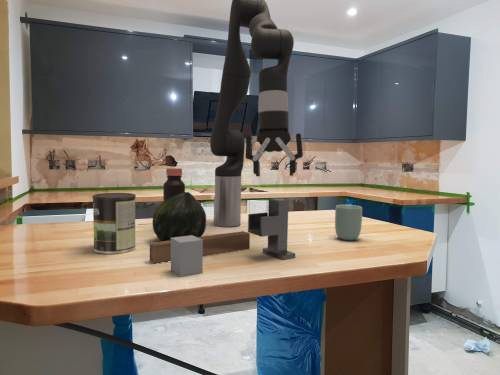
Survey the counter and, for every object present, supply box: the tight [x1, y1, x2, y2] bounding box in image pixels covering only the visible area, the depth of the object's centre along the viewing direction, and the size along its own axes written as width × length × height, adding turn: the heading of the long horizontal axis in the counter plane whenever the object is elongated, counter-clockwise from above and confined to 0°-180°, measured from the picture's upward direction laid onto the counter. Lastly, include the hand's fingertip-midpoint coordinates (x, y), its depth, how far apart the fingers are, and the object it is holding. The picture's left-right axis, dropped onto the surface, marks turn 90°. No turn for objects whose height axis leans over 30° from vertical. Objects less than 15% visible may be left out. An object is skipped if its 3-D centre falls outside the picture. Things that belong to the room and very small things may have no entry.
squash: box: [152, 191, 207, 242], centre depth 104 cm, size 14×15×15 cm
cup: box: [334, 204, 363, 241], centre depth 110 cm, size 8×8×10 cm
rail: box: [149, 230, 251, 265], centre depth 91 cm, size 3×26×4 cm, turn 125°
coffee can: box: [92, 192, 137, 255], centre depth 94 cm, size 10×10×14 cm
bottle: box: [162, 167, 186, 202], centre depth 117 cm, size 7×7×20 cm
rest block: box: [170, 235, 204, 277], centre depth 77 cm, size 5×5×7 cm
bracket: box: [247, 197, 296, 261], centre depth 89 cm, size 8×10×14 cm
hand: (274, 175), depth 93 cm, fingers open, 8 cm apart
